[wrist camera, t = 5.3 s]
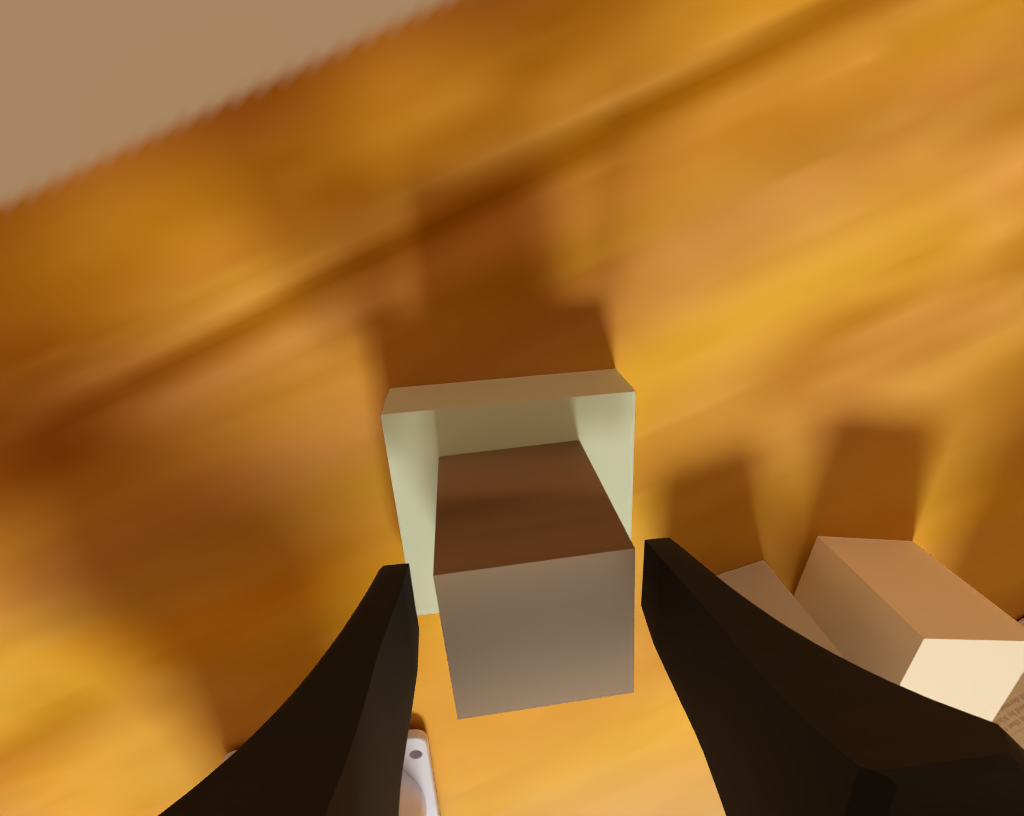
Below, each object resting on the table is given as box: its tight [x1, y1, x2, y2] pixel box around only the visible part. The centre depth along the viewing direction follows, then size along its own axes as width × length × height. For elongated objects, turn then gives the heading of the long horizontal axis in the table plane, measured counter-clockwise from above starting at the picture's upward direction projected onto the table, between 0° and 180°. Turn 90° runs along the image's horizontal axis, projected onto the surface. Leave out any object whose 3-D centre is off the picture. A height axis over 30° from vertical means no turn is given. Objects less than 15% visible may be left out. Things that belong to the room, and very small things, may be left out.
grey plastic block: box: [716, 560, 846, 660], centre depth 19 cm, size 4×4×5 cm
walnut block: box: [433, 440, 635, 719], centre depth 13 cm, size 4×4×5 cm
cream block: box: [794, 536, 1024, 722], centre depth 19 cm, size 4×4×5 cm
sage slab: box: [381, 369, 636, 616], centre depth 17 cm, size 7×7×2 cm
